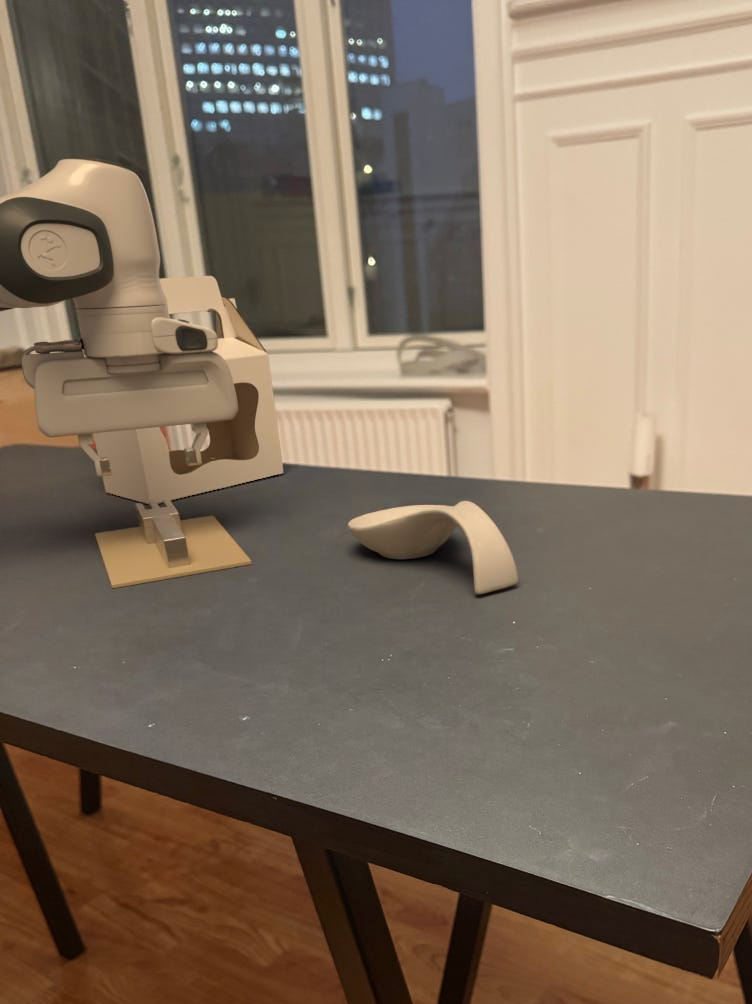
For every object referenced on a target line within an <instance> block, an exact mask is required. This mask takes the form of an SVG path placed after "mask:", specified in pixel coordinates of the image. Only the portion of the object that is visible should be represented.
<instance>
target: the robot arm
mask: <svg viewBox="0 0 752 1004" xmlns="http://www.w3.org/2000/svg"><path fill="white" fill-rule="evenodd" d="M160 254H161V253H160V248H159V242H158V236H157V230H156V226H155V220H154V216H153V211H152V208H151V204H150V201H149V198H148V195H147V192H146V189H145V187H144V185H143V183H142V181H141V179H140V177H139V176H138V175H137V174H136V173H135V172H134V171H132V170H131V169H130V168H127V166H124V165H122V164H120V163H117V162H114V161H110V160H106V159H101V158H94V157H93V158H91V157H85V156H72V157H71V156H69V157H65V158H62V159H60V160H58V162H57V164H56V165H55V167H54V168H52V169H51V170H50V171H49V172H47V173H46V174H45V175H43V176H41V177H40V178H39V179H37V180H35V181H32V183H30V184H27V185H26V186H24V187H22V188H19V189H17V190H14V191H12V192H9V193H7V194H5V195H2V196H0V312H5V311H9V310H12V309H13V310H14V309H32V308H43V307H50V306H55V305H59V304H60V303H63V302H65V301H67V300H71V299H72V300H73V302H74V307H75V310H76V311H75V312H76V317H77V322H78V327H79V333H80V337H81V338H79V339H78V338H77V339H65V340H60V341H38V342H34V343H33V346H31V347H28V348H27V349H25V350H24V351H23V353H22V355H21V358H20V364H21V369H22V374H23V378H24V380H25V382H26V384H27V385H28V386H29V387H31V388H32V389H33V394H34V395H33V397H34V409H35V415H36V423H37V426H38V430H39V432H41V433H42V434H43V435H45V436H46V437H48V438H61V437H70V436H71V437H72V436H77V440H78V441H77V442H78V444H79V446H80V447H81V449H82V450H83V451H84V452H85V453H86V454H87V455H88V457H89V458H90V459H91V460H92V461H93V465H94V471H95V474H96V477H97V478H98V477H100V478H101V477H102V476H108V475H112V474H111V469H110V467H109V466H110V463H109V459H108V457H99V456H98V453H97V451H95V450H94V449H93V447H92V446H91V445H94V443H95V440H94V434H93V433H102V432H112V431H123V430H133V429H143V428H153V427H159V428H162V427H173V426H181V425H182V426H183V425H190V426H191V431H192V432H193V433H194V434H195V437H194V440H193V441H192V443H191V447H185V448H183V450H184V452H185V455H186V456H187V457H186V463H187V465H188V466H196V465H202V459H201V452H200V451H201V450H202V448H203V446H204V443H205V441H206V440H207V436H208V435H209V432H208V428H207V422H215V421H225V420H232V419H233V418H234V417H235V415H236V414H237V412H238V402H237V396H236V391H235V387H234V383H233V379H232V376H231V372H230V369H229V367H228V365H227V363H226V361H225V360H224V358H223V357H222V356H220V355H219V354H217V353H215V352H213V351H214V350H216V349H217V347H218V339H217V332H216V331H215V330H213V329H211V328H209V327H207V326H204V325H203V326H202V325H199V324H195V323H191V322H190V321H189V320H185V319H181V318H178V319H174V318H171V315H170V314H169V312H168V306H167V300H166V297H165V295H164V293H163V291H162V288H161V285H160V280H159V279H160V267H161V255H160ZM34 351H35V353H32V352H34ZM30 353H31V354H30ZM84 354H85V357H84Z"/></svg>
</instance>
